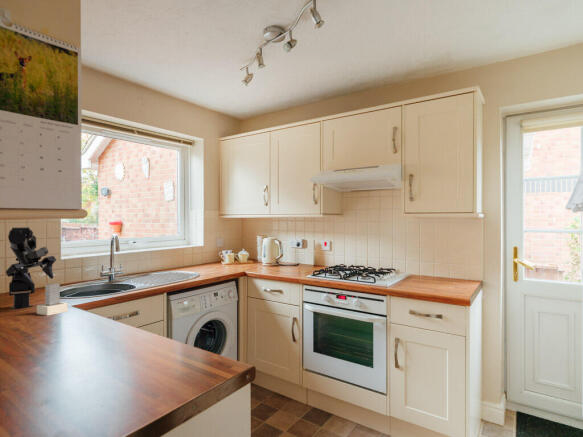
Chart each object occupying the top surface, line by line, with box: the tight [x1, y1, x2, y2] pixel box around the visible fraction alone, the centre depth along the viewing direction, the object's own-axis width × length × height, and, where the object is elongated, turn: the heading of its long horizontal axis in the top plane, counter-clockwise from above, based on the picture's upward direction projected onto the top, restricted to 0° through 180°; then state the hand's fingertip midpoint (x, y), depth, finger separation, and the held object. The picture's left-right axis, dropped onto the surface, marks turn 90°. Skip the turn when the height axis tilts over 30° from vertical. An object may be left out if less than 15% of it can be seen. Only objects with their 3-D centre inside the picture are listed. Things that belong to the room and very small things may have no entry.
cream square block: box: [36, 301, 69, 316], centre depth 143 cm, size 8×8×4 cm
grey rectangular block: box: [44, 283, 61, 306], centre depth 144 cm, size 4×4×12 cm
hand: (42, 281), depth 147 cm, fingers open, 9 cm apart
